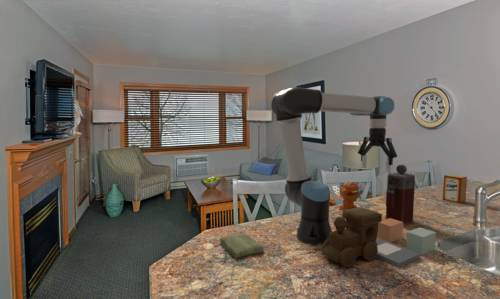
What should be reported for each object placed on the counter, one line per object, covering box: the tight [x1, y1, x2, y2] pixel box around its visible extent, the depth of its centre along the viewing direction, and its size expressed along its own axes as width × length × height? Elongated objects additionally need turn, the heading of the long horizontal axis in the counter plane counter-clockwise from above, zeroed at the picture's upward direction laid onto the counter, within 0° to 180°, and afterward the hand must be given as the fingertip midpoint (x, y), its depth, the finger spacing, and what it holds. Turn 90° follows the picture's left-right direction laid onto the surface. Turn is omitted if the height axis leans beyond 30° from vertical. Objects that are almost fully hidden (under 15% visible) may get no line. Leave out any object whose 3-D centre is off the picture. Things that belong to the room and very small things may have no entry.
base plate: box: [375, 237, 421, 268], centre depth 108 cm, size 13×18×2 cm
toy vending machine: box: [385, 164, 416, 225], centre depth 142 cm, size 9×11×28 cm
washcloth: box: [219, 233, 264, 259], centre depth 114 cm, size 13×18×3 cm
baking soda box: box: [442, 174, 468, 205], centre depth 176 cm, size 10×6×16 cm
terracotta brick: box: [377, 218, 404, 243], centre depth 122 cm, size 9×6×7 cm, turn 120°
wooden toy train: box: [321, 207, 383, 268], centre depth 104 cm, size 20×11×17 cm, turn 115°
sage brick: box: [405, 227, 437, 256], centre depth 111 cm, size 9×6×7 cm, turn 120°
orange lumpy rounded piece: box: [338, 181, 361, 212], centre depth 152 cm, size 11×11×18 cm
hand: (375, 169), depth 145 cm, fingers open, 13 cm apart
